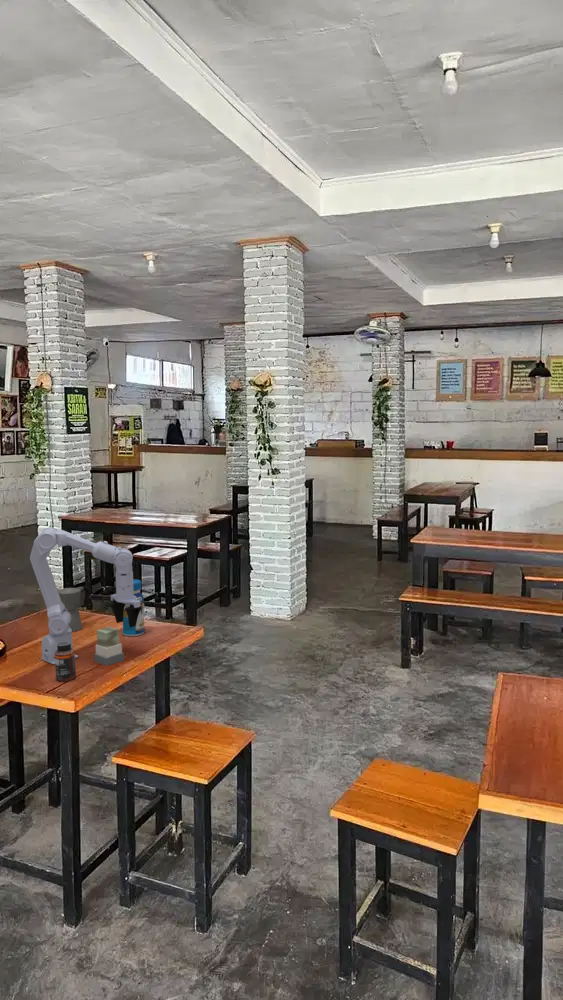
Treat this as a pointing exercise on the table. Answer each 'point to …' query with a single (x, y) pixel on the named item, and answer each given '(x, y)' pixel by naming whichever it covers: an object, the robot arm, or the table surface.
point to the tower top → (109, 650)
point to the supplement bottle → (65, 662)
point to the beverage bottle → (139, 626)
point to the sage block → (107, 637)
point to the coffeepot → (74, 603)
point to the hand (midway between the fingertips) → (126, 624)
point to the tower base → (109, 659)
